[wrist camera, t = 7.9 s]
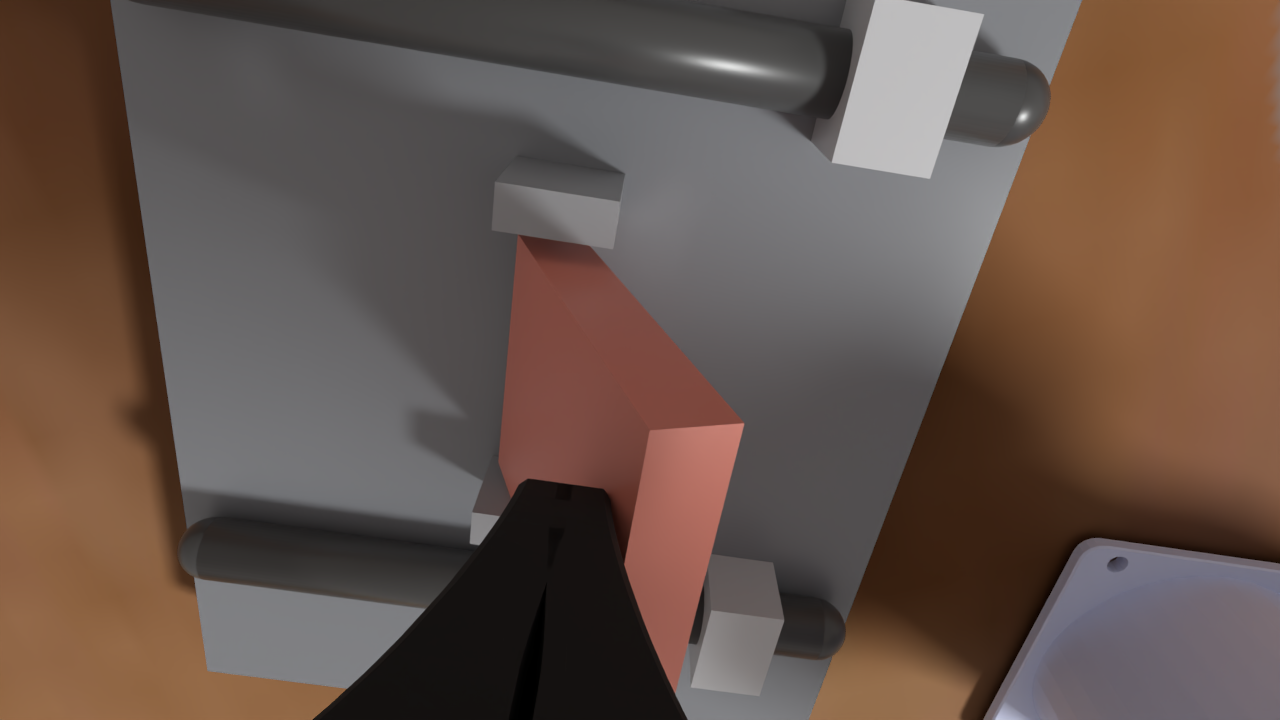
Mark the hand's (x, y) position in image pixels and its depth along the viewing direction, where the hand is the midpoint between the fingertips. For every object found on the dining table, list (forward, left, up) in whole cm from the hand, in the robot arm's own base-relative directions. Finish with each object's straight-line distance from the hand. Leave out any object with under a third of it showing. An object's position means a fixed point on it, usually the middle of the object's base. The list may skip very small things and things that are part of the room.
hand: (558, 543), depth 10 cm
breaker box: (+1, 0, -8) cm, 8 cm away
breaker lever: (+1, 0, -5) cm, 5 cm away
